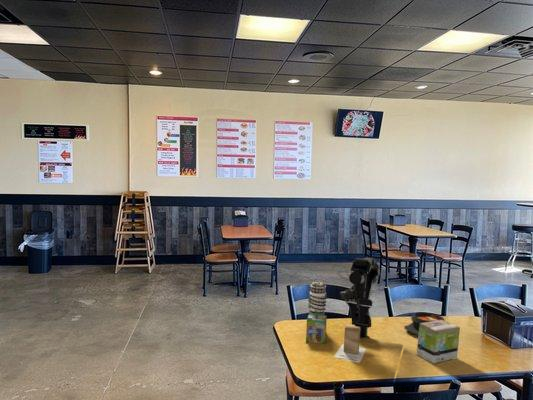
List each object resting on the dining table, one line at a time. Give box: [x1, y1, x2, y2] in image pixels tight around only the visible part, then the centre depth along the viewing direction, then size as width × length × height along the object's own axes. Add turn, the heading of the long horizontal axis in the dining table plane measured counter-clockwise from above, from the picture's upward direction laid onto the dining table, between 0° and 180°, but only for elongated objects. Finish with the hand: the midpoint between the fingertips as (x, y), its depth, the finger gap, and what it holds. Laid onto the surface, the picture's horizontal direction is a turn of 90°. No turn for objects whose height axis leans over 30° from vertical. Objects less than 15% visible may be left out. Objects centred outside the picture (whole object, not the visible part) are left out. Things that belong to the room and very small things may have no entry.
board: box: [333, 343, 367, 364], centre depth 176 cm, size 16×11×1 cm
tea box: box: [416, 319, 461, 364], centre depth 179 cm, size 15×10×15 cm, turn 117°
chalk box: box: [305, 309, 328, 345], centre depth 190 cm, size 9×9×15 cm
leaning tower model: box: [307, 281, 328, 315], centre depth 201 cm, size 9×9×25 cm
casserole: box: [403, 311, 446, 336], centre depth 208 cm, size 25×19×8 cm
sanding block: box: [343, 324, 361, 355], centre depth 177 cm, size 4×6×11 cm, turn 66°
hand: (356, 319), depth 184 cm, fingers open, 9 cm apart
